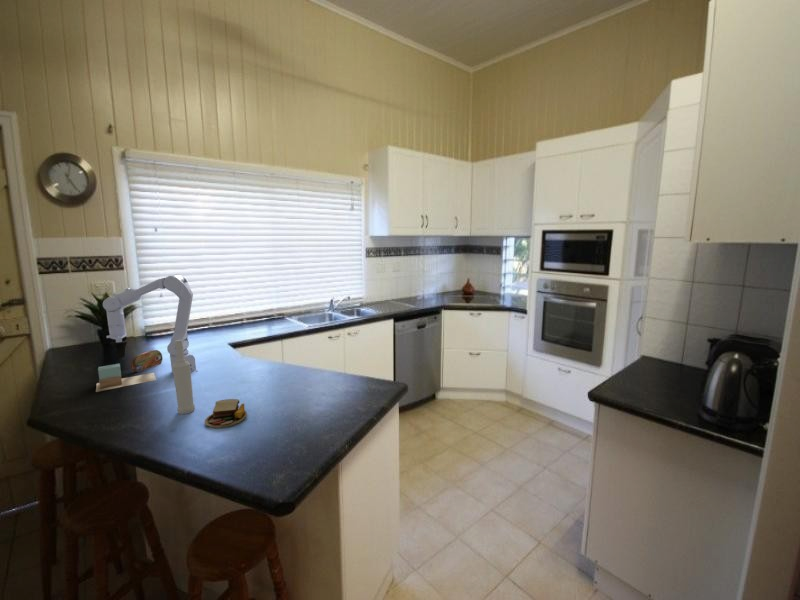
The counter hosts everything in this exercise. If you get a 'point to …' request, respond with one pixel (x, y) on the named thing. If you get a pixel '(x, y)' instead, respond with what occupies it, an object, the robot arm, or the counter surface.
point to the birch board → (130, 381)
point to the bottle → (183, 381)
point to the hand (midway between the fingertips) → (121, 355)
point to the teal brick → (109, 371)
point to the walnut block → (110, 382)
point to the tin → (146, 360)
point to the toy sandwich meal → (226, 414)
